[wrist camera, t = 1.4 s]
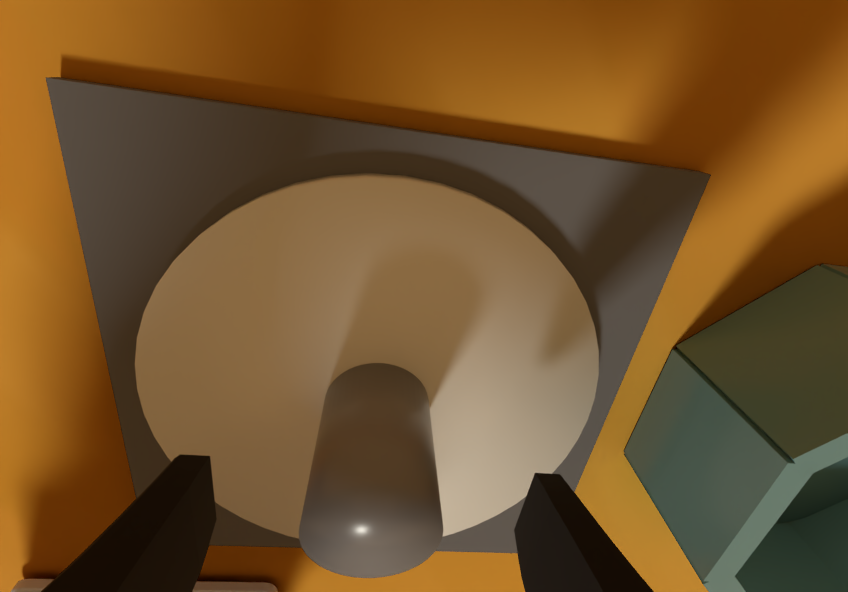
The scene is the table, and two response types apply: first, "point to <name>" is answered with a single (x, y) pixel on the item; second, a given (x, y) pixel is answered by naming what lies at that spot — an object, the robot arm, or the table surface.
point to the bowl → (757, 442)
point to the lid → (368, 364)
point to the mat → (340, 155)
